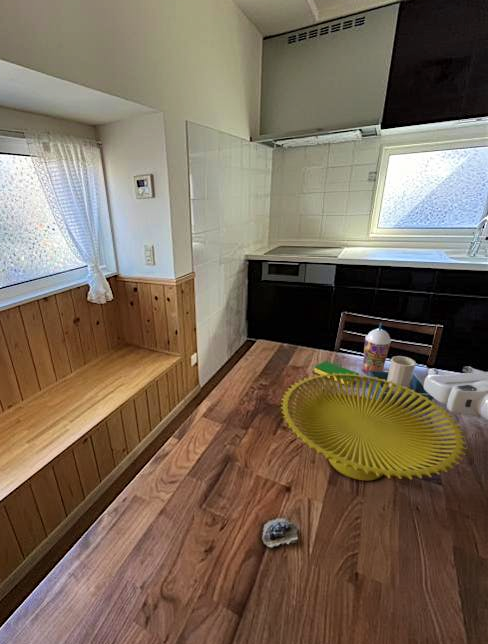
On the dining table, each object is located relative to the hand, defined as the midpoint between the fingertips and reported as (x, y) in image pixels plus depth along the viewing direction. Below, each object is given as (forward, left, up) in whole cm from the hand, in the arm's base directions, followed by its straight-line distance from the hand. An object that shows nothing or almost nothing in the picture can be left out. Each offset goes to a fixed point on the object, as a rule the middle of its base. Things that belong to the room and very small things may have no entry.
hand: (448, 369), depth 92 cm
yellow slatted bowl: (+26, +17, -18) cm, 36 cm away
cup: (+5, -15, -17) cm, 23 cm away
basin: (+5, -15, -18) cm, 24 cm away
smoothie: (+8, -30, -18) cm, 36 cm away
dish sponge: (+22, -26, -18) cm, 38 cm away
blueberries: (+48, +41, -18) cm, 66 cm away
